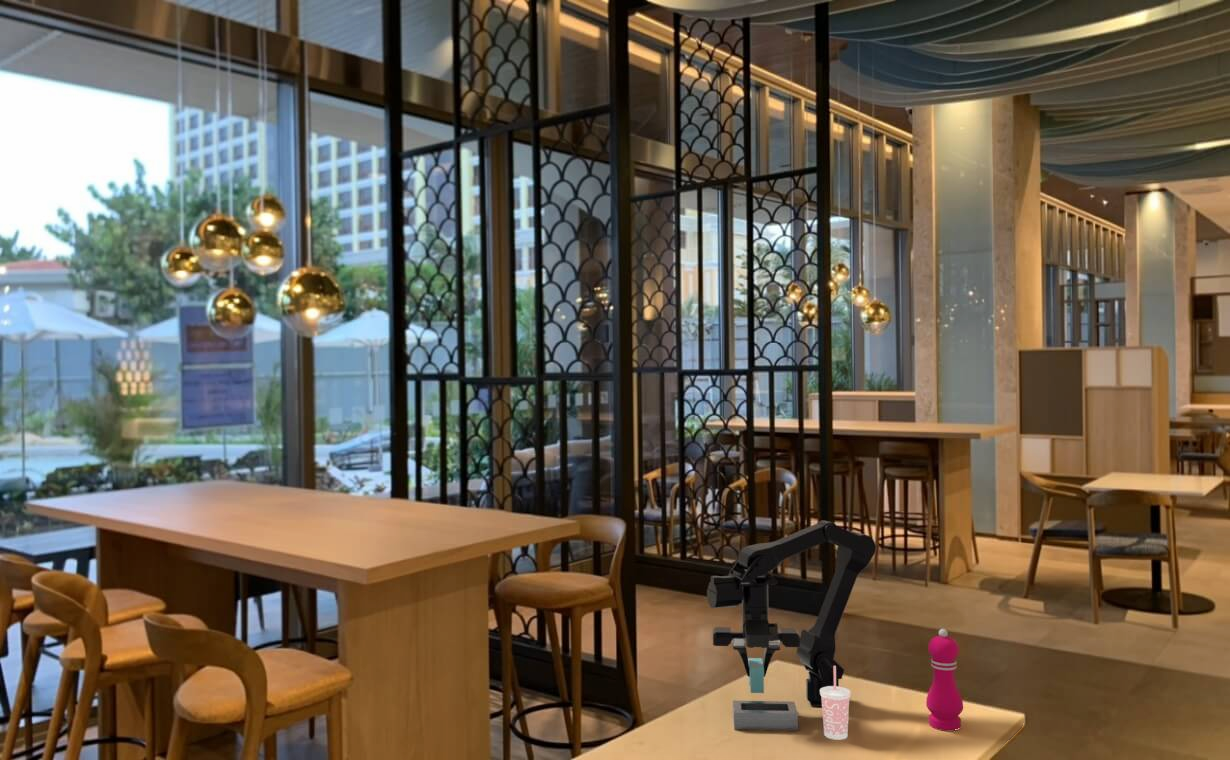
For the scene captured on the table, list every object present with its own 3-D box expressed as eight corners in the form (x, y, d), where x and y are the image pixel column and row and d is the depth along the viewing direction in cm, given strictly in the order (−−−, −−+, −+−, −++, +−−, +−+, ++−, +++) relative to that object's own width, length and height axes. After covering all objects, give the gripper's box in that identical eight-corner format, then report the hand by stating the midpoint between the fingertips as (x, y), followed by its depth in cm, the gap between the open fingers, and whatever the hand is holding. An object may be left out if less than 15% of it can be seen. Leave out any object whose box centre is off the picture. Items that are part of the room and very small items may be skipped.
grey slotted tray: (794, 718, 194) (794, 701, 194) (798, 730, 186) (797, 713, 187) (733, 716, 195) (732, 700, 195) (734, 729, 188) (734, 712, 188)
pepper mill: (964, 722, 190) (962, 626, 190) (962, 734, 183) (960, 635, 184) (928, 717, 193) (926, 623, 193) (924, 729, 186) (922, 631, 187)
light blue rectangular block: (748, 682, 203) (748, 658, 203) (762, 683, 203) (761, 658, 203) (750, 693, 196) (749, 667, 196) (764, 693, 196) (764, 667, 196)
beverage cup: (814, 734, 184) (812, 665, 185) (833, 727, 188) (832, 659, 188) (838, 743, 180) (836, 672, 180) (857, 736, 183) (856, 666, 183)
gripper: (712, 613, 192) (713, 687, 192) (802, 614, 191) (803, 689, 190) (712, 601, 204) (713, 671, 203) (796, 602, 202) (797, 672, 202)
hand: (756, 676), depth 199 cm, fingers closed on light blue rectangular block, 3 cm apart
